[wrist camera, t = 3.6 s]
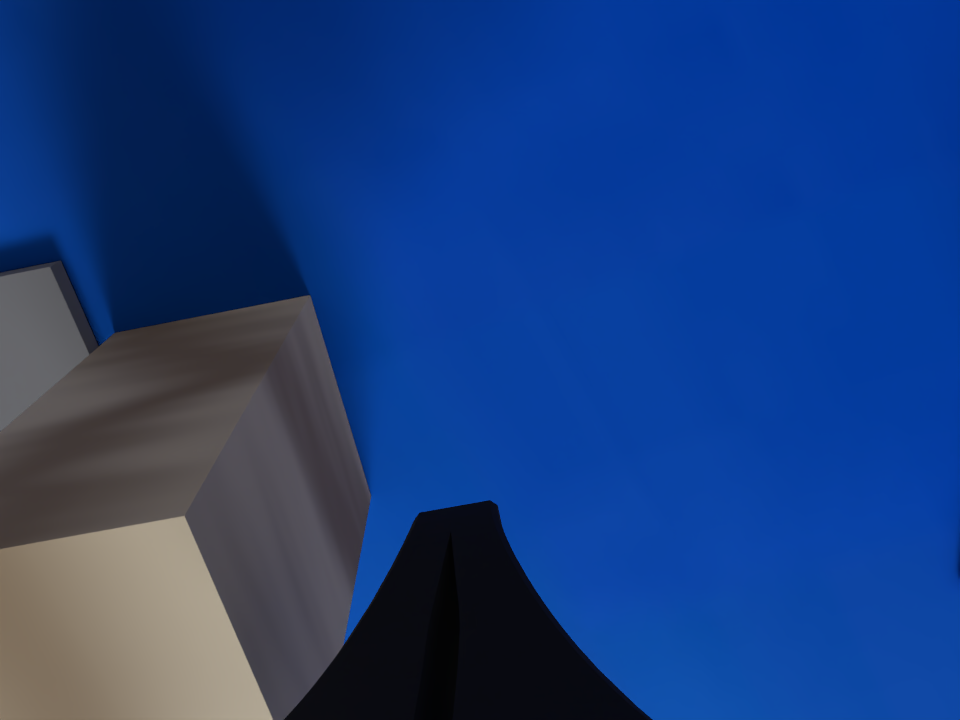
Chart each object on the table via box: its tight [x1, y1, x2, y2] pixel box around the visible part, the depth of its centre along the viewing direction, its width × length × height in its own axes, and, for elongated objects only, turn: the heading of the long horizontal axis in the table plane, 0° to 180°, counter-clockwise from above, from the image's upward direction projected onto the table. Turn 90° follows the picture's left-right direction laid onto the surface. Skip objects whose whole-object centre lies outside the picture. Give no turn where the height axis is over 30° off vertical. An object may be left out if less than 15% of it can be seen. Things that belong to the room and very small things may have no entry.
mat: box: [0, 261, 99, 432], centre depth 19 cm, size 8×10×1 cm
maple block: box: [0, 295, 371, 720], centre depth 15 cm, size 5×6×9 cm
